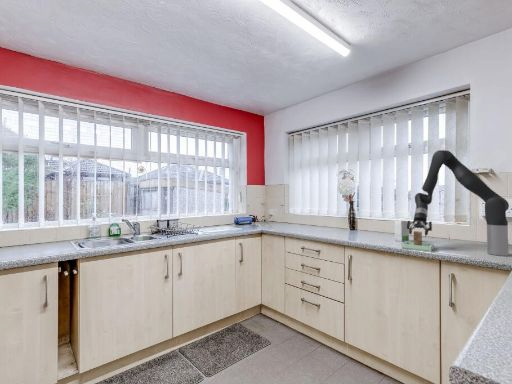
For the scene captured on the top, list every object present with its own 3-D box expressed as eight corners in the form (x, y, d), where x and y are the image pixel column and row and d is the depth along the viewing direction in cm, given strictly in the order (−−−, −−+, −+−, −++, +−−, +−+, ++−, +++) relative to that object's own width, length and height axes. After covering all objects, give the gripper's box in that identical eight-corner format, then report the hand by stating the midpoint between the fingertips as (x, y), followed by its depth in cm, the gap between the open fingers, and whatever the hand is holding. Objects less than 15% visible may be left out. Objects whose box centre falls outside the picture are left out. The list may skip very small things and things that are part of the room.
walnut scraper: (421, 247, 177) (421, 231, 177) (420, 247, 174) (420, 232, 174) (414, 246, 180) (414, 231, 180) (413, 247, 177) (413, 231, 177)
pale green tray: (434, 248, 177) (433, 243, 177) (430, 251, 166) (430, 246, 166) (406, 245, 187) (406, 241, 187) (401, 248, 177) (401, 243, 177)
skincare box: (401, 242, 202) (401, 221, 202) (394, 240, 208) (393, 220, 209) (409, 241, 205) (409, 220, 206) (401, 240, 211) (401, 220, 212)
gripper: (408, 211, 189) (404, 229, 180) (432, 212, 180) (430, 231, 171) (409, 218, 193) (406, 236, 184) (433, 219, 184) (431, 238, 175)
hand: (418, 234), depth 177 cm, fingers open, 8 cm apart
